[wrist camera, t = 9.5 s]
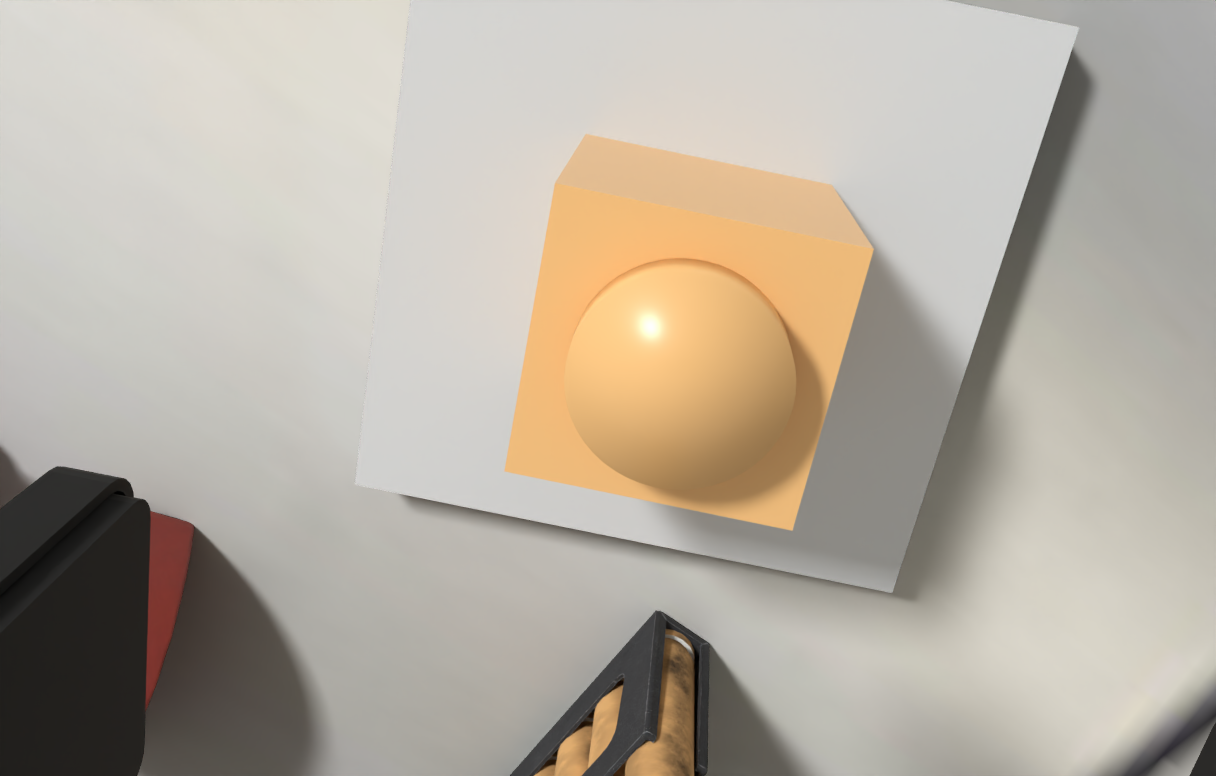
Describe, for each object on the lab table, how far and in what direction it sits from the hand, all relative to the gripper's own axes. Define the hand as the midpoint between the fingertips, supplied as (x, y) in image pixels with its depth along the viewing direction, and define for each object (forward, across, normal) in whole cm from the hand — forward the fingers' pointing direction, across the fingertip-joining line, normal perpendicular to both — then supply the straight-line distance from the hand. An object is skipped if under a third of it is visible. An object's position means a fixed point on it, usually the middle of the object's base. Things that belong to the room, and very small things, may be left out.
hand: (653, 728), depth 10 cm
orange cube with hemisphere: (+17, 0, +1) cm, 17 cm away
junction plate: (+18, 0, +1) cm, 18 cm away
